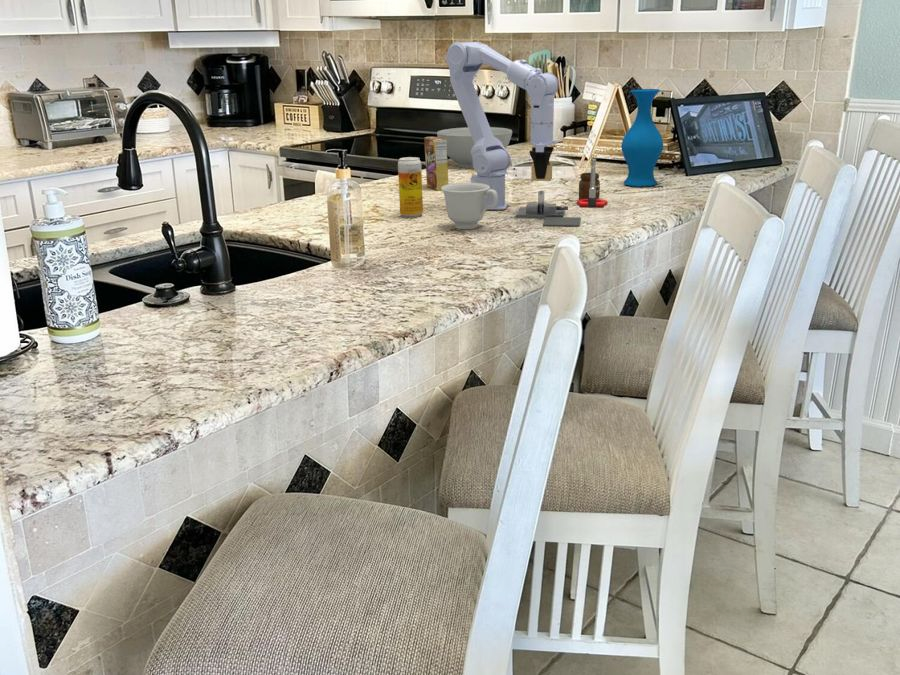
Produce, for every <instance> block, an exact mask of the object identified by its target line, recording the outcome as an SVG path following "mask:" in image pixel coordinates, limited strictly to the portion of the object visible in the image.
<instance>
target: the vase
mask: <svg viewBox="0 0 900 675" xmlns="http://www.w3.org/2000/svg"><path fill="white" fill-rule="evenodd" d="M630 92H631V93H632V95H633V96H634V98H635V100H636V103H637V113H636V117H635V119H634V121H633V123H632V125H631V126H630V128H629V129H628V130H627V131H626V133H625V134H624V135H623V139H622V141H621V153H622V156H623V158H624V160H625V163H626V164H627V168H628V173H627V177H626V178H625V179H624V182H623V184H624V185H625V186H629V187H638V188H639V187H640V188H645V187H653V186H655V185H657V184H658V181H657V179H656V178H655V175H654V170H655V167H656V165H657V163H658V161H659V158H660V157H661V156H662V153H663V150H664V139H663V136H662V135H661V132H660V131H659V130H658V128H657V126H656V125H655V123H654V120H653V117H652V103H653V101H654V99H655V97H656V96H657V95H658V94H659V92H661V89H658V88H657V89H656V88H640V89H639V88H638V89H635V88H634V89H631V90H630Z"/></svg>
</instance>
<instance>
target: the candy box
mask: <svg viewBox="0 0 900 675" xmlns="http://www.w3.org/2000/svg"><path fill="white" fill-rule="evenodd" d="M423 142H424V156H425V174H426V176H425V177H426V187H429V188H430V189H433V190H435V191H436V192H437V191H442V189H441V187H442V186H444V185H448V184H449V166H448V165H449V164H448V155H447V140H445V139H441V138H438V136H426V137H424V141H423Z"/></svg>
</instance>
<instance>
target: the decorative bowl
mask: <svg viewBox="0 0 900 675" xmlns="http://www.w3.org/2000/svg"><path fill="white" fill-rule="evenodd" d="M490 128H491V131H492V133H493V136H494V137H495V138H497V139H498V140H500V141H501V142H502V144H503V147H504V148H505V149H506V150H507V148H508V146H509V144H510V141H511V139H512V135H513V130H512V129H510V128H505V127H495V126H490ZM436 135H437V136H436V137H438V138H441V139H445V140H447V157H449V158H450V159H451V160H453V161H454V162H455V163H457V167H460V168H463V167H468V168H467V169H474V167H473V158H472V154H471V150H472V148H473V146H474V141H473V139H472V136H471V133H470V131H469V128H468V126H467V127H466V126H465V127H456V128H455V127H454V128H448V129H447V128H446V129H441V130H438V131H437V132H436Z"/></svg>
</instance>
